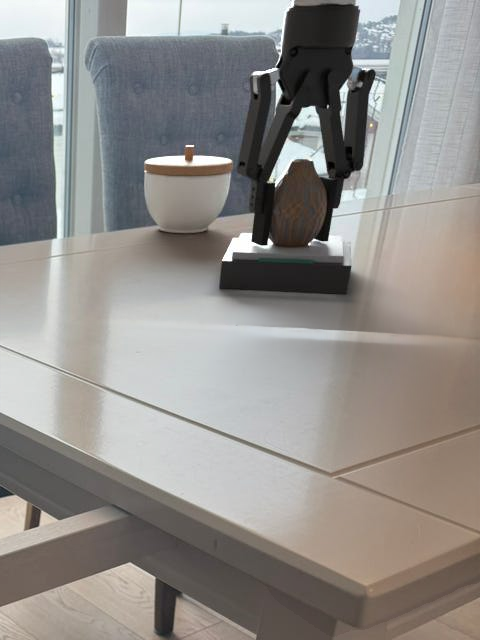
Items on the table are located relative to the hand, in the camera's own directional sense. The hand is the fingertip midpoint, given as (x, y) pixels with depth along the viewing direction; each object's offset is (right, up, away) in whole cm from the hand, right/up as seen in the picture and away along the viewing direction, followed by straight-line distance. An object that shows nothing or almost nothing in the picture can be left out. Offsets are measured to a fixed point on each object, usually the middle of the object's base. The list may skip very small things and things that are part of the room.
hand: (289, 241), depth 109 cm
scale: (0, -3, +2) cm, 4 cm away
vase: (0, -1, 0) cm, 1 cm away
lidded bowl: (-6, +15, +30) cm, 34 cm away
